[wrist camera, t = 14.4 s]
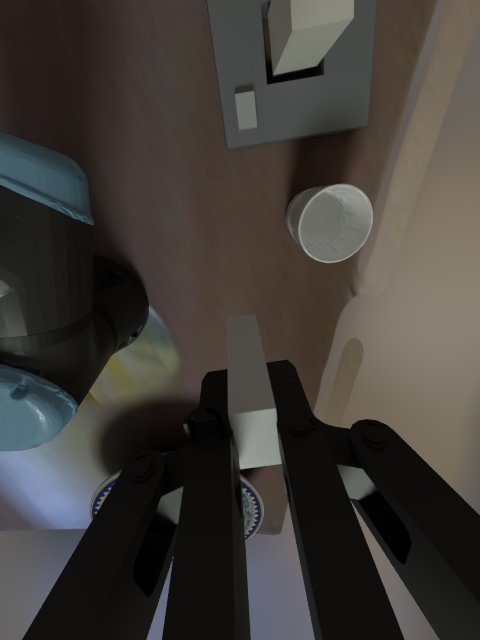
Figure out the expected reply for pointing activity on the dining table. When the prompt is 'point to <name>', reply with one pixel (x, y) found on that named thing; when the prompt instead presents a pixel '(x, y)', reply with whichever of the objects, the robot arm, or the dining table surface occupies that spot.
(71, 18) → the dining table surface
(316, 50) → the plug
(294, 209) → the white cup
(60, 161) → the robot arm
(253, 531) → the ceramic bowl
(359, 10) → the socket plate
